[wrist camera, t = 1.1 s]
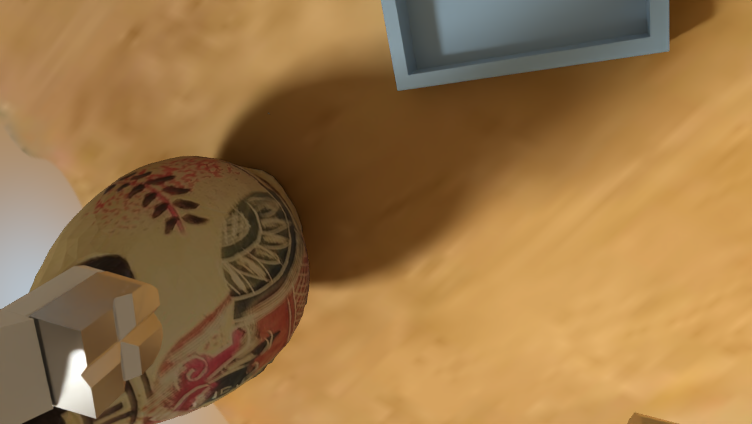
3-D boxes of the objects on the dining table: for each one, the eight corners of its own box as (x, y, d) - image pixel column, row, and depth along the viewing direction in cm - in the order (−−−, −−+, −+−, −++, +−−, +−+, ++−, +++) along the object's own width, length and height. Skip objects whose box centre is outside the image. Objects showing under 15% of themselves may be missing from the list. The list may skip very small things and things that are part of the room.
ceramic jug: (309, 339, 45) (-54, 830, 19) (160, 248, 47) (-353, 589, 21) (386, 177, 36) (-85, 679, 11) (200, 73, 38) (-585, 293, 13)
